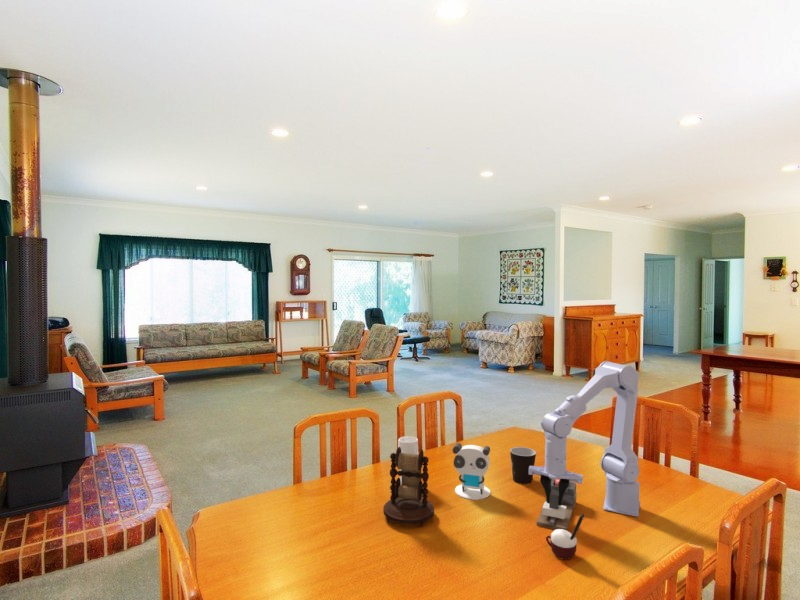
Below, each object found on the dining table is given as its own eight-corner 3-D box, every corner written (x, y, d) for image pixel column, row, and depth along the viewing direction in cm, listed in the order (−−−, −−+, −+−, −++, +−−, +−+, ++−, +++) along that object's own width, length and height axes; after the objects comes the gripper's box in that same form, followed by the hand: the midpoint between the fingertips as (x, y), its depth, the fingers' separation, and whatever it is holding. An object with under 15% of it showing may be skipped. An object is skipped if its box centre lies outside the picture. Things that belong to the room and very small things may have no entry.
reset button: (568, 485, 149) (568, 479, 148) (566, 490, 145) (566, 483, 145) (556, 483, 150) (556, 477, 150) (554, 487, 147) (554, 481, 147)
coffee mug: (529, 487, 158) (530, 458, 158) (505, 481, 164) (505, 452, 163) (542, 476, 168) (543, 448, 167) (519, 470, 173) (519, 442, 172)
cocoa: (542, 550, 123) (540, 504, 122) (562, 544, 125) (560, 499, 125) (568, 569, 114) (566, 519, 114) (589, 563, 116) (587, 514, 116)
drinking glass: (418, 487, 158) (418, 443, 157) (397, 487, 158) (397, 442, 157) (417, 479, 165) (418, 436, 164) (398, 478, 165) (398, 435, 164)
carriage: (566, 513, 137) (566, 492, 137) (564, 519, 134) (564, 498, 133) (544, 508, 140) (545, 488, 140) (542, 514, 136) (542, 493, 136)
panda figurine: (449, 496, 152) (449, 449, 151) (456, 481, 163) (457, 438, 162) (487, 502, 148) (488, 454, 148) (492, 487, 159) (493, 442, 158)
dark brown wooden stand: (438, 508, 144) (439, 442, 143) (428, 533, 130) (429, 460, 129) (391, 501, 148) (392, 437, 147) (376, 525, 134) (376, 454, 133)
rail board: (576, 502, 148) (577, 483, 148) (567, 532, 131) (568, 510, 130) (549, 496, 152) (549, 477, 152) (536, 525, 134) (537, 504, 134)
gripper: (526, 456, 136) (525, 503, 136) (581, 465, 129) (579, 515, 130) (531, 448, 142) (530, 493, 143) (583, 457, 135) (582, 504, 136)
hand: (554, 503), depth 137 cm, fingers closed on carriage, 2 cm apart
